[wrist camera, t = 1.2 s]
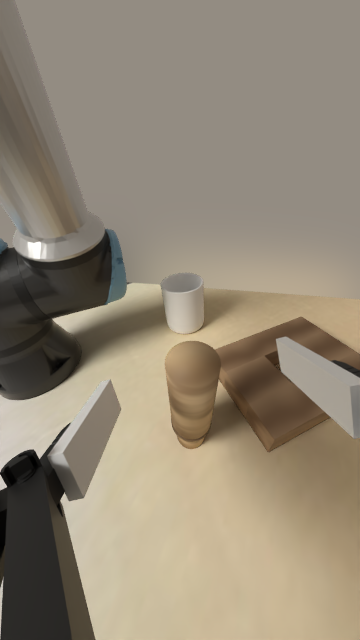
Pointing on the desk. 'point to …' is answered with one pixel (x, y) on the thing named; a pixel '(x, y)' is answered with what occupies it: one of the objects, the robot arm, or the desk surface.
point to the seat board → (276, 380)
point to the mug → (183, 302)
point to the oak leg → (192, 390)
